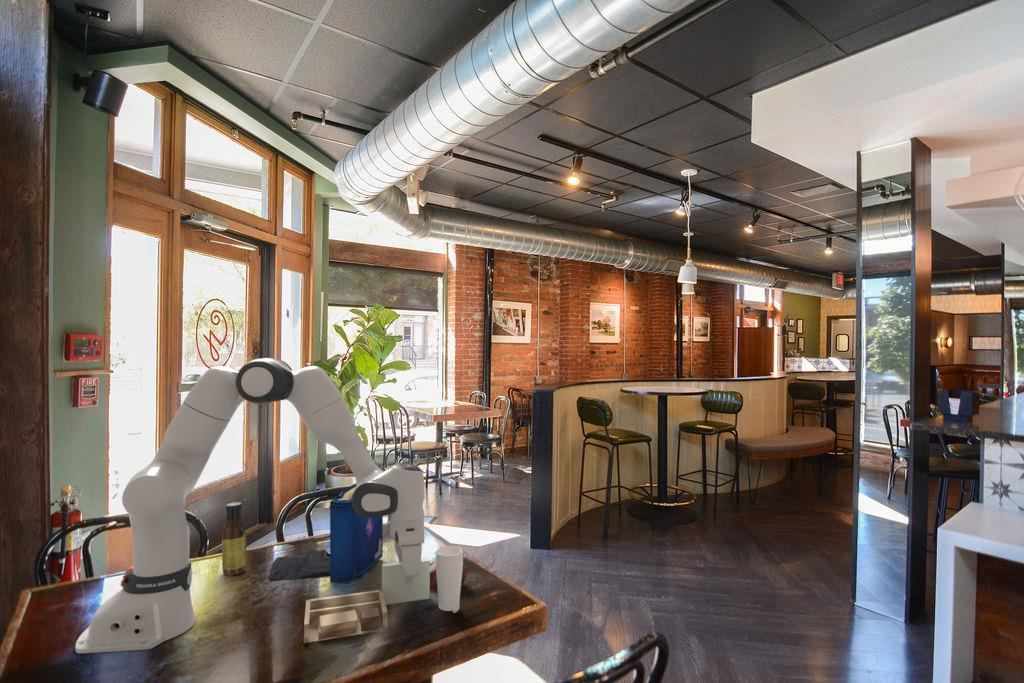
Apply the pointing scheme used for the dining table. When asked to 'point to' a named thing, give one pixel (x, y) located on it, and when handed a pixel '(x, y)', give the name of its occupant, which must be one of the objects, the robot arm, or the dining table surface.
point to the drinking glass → (449, 577)
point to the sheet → (396, 583)
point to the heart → (434, 577)
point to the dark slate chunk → (301, 566)
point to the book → (352, 540)
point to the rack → (343, 604)
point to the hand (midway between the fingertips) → (405, 580)
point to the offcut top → (338, 621)
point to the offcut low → (336, 633)
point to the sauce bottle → (233, 541)
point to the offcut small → (370, 619)
